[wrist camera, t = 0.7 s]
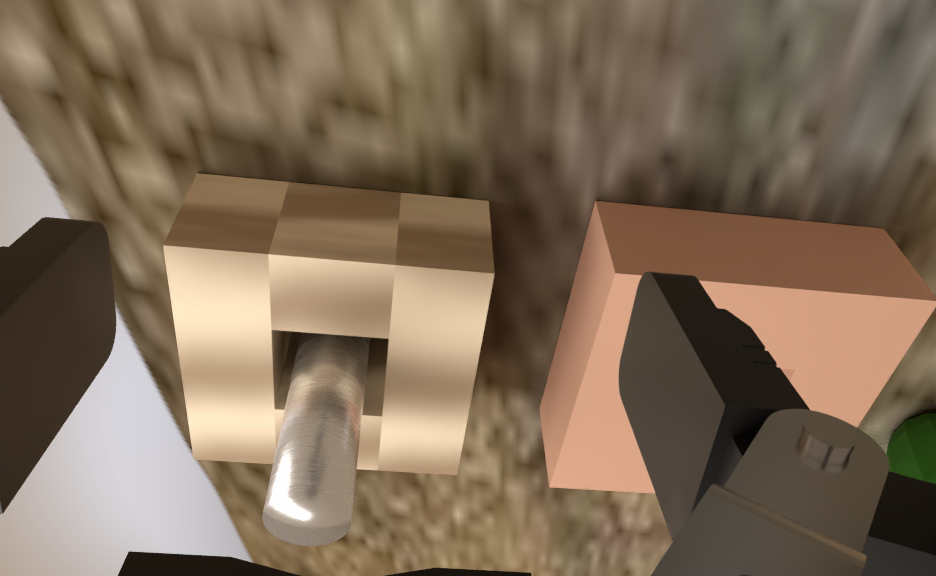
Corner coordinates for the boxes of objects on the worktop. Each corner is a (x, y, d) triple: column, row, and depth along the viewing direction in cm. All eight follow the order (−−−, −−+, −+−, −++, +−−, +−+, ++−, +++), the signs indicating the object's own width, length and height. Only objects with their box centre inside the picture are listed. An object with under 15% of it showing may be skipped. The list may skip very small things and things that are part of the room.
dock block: (595, 200, 33) (615, 273, 29) (883, 228, 35) (939, 301, 31) (539, 408, 41) (549, 487, 38) (774, 425, 43) (808, 502, 39)
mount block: (197, 173, 32) (163, 245, 28) (488, 200, 33) (494, 273, 29) (218, 379, 39) (193, 459, 36) (455, 396, 41) (457, 474, 37)
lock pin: (309, 269, 35) (260, 491, 26) (376, 275, 36) (352, 496, 26) (308, 319, 37) (263, 543, 28) (372, 324, 37) (349, 547, 28)
